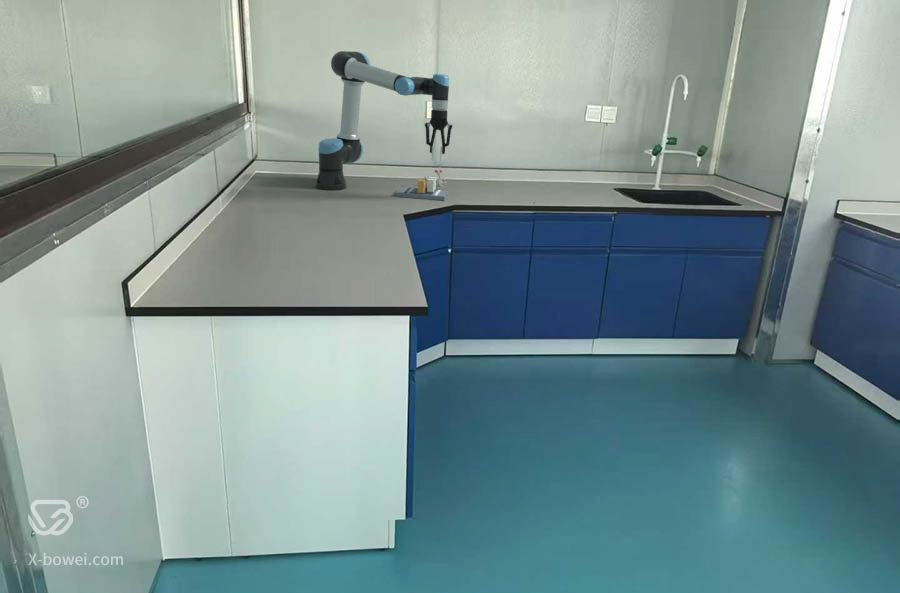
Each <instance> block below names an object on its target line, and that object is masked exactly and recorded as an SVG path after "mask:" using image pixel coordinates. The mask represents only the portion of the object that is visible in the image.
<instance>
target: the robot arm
mask: <svg viewBox="0 0 900 593" xmlns="http://www.w3.org/2000/svg"><path fill="white" fill-rule="evenodd" d="M330 65H331V70H332V71H333V73H334V74H335V75H336V76H338V77H340V80H341V81H342V82H343V92H342V102H341V103H342V104H341V105H342V106H341V115H340V116H341V118H340V132H339V133H338V134H336V138H325V139H322V140H320V141H319V143H318V174H317V178H316V181H315V188H317V189H319V190H326V191H339V190H345V189H346V188H347V182H346V178H345V174H344V171H343V169H344V168H343V167H344V165H345V164H353V163H355V162H358V161H359V160H360V159H361V158H362V157H363V153H364V146H363V144H362V141H361V138H360V136H359V134H358V132H359V130H358V128H359V119H360V118H359V117H360V108H361V107H360V106H361V105H360V104H361V94H362V86H363V85H364V84H365V83H368V84H372V85H375V86H378V87H382V88H383V89H388V90H390V91H394V92H395V93H397V94H398V95H402V96H416V95H418V96H419V95H422V96H424V95H425V96H431V113H430V120H429V122H425V123H424V127H425V139H426V140H425V144H426V145H428V146H429V153H430V154H431V161H434V160H435V145H434V144H435V138H436V133H437V131H439V132H440V136H441V137H440V138H441V147H440V152H439V154H440V155H439V162H443V156H444V155H445V154H446V147H449V146H450V142H451V133H452V129H453V127H454V124H451V123H449V121H448V109H449V90H450V89H449V88H450V77H449V75H448V74H440V73H439V74H438V73H434V74H433V76H432V77H431V78H430V77H421V76H411V77H409V76H405V75H401V74H398V73H395V72H392V71H390V70H386V69H383V68H380V67H377V66H374V65H371V62H370V60H369V58H368V57H367V55H366V54H365V53H363V52H360V51H347V50H346V51H345V50H344V51H343V50H342V51H338V52H336V53H335V54H333V56H332V58H331V61H330ZM430 126H431V127H432V134H431V136H430ZM446 127H447V134H446V138H445V128H446ZM430 137H431V138H430Z"/></svg>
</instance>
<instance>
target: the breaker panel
mask: <svg viewBox="0 0 900 593" xmlns="http://www.w3.org/2000/svg"><path fill="white" fill-rule="evenodd" d="M436 177H437V176H429V178H428V181H427V183H428V185H426V186H427V187H426V188H425V192H424V193H418V187H407V186H406V187H405V186H401V187H400V188H399V189H398V190H397V191H395V197H398V198H399V197H400V198H411V199H418V200H419V199H421V200H422V199H423V200H431V201H441V200H443V201H445V200H446V199H447V197H448V196H449V190H441V189H437V188H436V187H437V186H436V185H437V183H436ZM443 201H442V202H443Z"/></svg>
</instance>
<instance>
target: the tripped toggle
mask: <svg viewBox="0 0 900 593" xmlns="http://www.w3.org/2000/svg"><path fill="white" fill-rule="evenodd" d="M417 188H418V193H424V192H425V189H426V181H425V179H419V178H418V180H417Z"/></svg>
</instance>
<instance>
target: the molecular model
mask: <svg viewBox="0 0 900 593" xmlns="http://www.w3.org/2000/svg"><path fill="white" fill-rule="evenodd" d="M438 169H439V171H438V170H437V169H435V170H434V173H436V174H437V176H435V177H436V187H437V186H438V187H439V188H443V187H444V186H443V185H445V184H447V181H446V178H444V177H443V178H442V177H441V174H442V172H443V171H442V170H441V166H440V167H438ZM429 178H430V176H424V180H425V186H427V185H428V179H429ZM442 180H444V181H442Z"/></svg>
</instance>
